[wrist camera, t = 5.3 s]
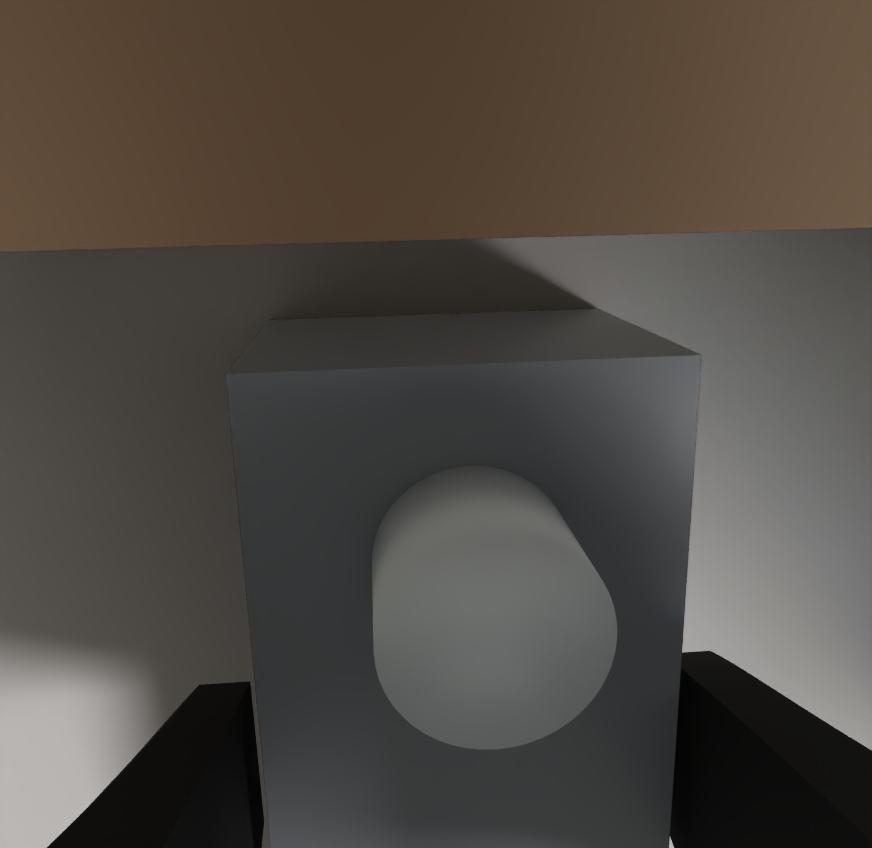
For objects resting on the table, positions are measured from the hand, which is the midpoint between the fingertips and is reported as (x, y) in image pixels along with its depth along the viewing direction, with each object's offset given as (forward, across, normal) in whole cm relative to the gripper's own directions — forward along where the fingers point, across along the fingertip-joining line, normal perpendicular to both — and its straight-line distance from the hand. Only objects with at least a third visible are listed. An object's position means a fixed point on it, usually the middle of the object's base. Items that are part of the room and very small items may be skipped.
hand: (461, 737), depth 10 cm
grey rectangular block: (+3, 0, 0) cm, 3 cm away
